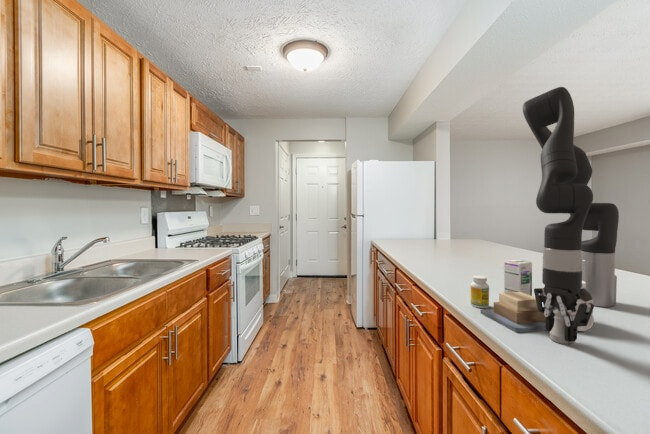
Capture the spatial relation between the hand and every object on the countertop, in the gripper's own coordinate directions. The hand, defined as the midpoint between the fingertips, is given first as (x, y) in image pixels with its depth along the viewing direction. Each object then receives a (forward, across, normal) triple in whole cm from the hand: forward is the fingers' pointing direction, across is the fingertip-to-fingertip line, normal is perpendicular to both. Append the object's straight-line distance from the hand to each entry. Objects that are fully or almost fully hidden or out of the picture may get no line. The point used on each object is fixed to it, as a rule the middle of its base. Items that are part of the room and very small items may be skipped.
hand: (560, 336), depth 73 cm
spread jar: (+1, +8, -12) cm, 15 cm away
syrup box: (+1, +25, -10) cm, 27 cm away
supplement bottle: (+1, +26, +3) cm, 26 cm away
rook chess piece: (+1, 0, 0) cm, 1 cm away
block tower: (+1, +13, 0) cm, 13 cm away
